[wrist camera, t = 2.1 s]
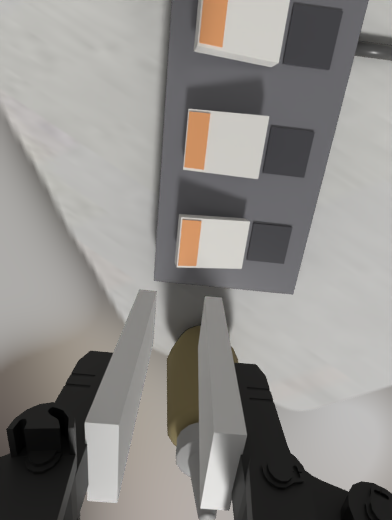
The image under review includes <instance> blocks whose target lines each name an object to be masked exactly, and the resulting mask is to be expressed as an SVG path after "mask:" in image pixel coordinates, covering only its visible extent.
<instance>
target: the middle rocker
mask: <svg viewBox="0 0 392 520" xmlns="http://www.w3.org/2000/svg"><path fill="white" fill-rule="evenodd" d="M268 122H269V116H262V115H251V114H241V113H230V112H219V111H208V110H197V109H189V110H188V121H187V132H186V143H185V154H184V165H183V170H189V171H197V172H205V173H213V174H221V175H229V176H236V177H244V178H252V179H258V177H259V171H260V166H261V160H262V155H263V149H264V144H265V138H266V133H267V127H268Z"/></svg>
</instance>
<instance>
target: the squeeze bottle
mask: <svg viewBox="0 0 392 520" xmlns="http://www.w3.org/2000/svg"><path fill="white" fill-rule="evenodd" d="M200 329H201V326H195V327H192V328H189V329H188V330H186V331H185V332H184V333H183V334H182V335H181V336H180V338H179V339H178V341H177V342H176V343H175V345H174V346H173V348H172V349H171V352H170V354H169V356H168V358H167V427H168V428H167V429H168V436H169V438H170V439H171V441H172V442H173V444H174V445H175V446H176V447H177V448H176V464H177V465H178V467H179V469H180V470H181V471H182V472H183V473H184V474H186V475H187V476H189V477H191V481H192V486H193V492H194V497H195V503H196V508H197V513H198V518H199V520H215V518H216V512H217V510H215V509H200V459H199V382H198V344H199V336H200ZM231 350H232V355H233V360H234V363H238V359H237V356H236V354H235V352H234V349H233V348H232V347H231Z"/></svg>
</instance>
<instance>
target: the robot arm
mask: <svg viewBox="0 0 392 520" xmlns="http://www.w3.org/2000/svg"><path fill="white" fill-rule="evenodd" d="M156 295H157V291H149V290H139V292H138V294H137V297H136V299H135V302H134V304H133V306H132V309H131V311H130V314H129V316H128V319H127V321H126V323H125V326H124V328H123V331H122V333H121V335H120V338H119V340H118V343H117V345H116V348H115V350H114V352H113V353H109V352H98V351H90V352H89V353H87V354H86V355H85V356H84V357H83V358H81V359H80V360H79V361H78V362H77V364H76V366H75V368H74V370H73V371H72V374H71V375H70V377H69V378H68V380H67V382H66V385H65V386H64V387H63V389H62V391H61V393H60V394H59V396H58V398H57V400H56V401H55V403H53V402H51V403H46V404H39V405H37V406H34V407H32V408H30V409H27V410H26V411H24V412H23V413H22V414H20V415H19V416H18V417H16V418H15V419H14V420H13V422H12V423H11V424H10V425H9V427H8V428H7V429H6V430H7V436H8V441H9V447H10V454H8V455H5V456H2V457H0V520H80V509H81V506H82V503H83V500H84V497H85V494H86V491H87V500H88V501H97V502H113V503H117V502H118V498H119V493H120V489H121V484H122V479H123V475H124V471H125V466H126V462H127V457H128V453H129V449H130V444H131V440H132V435H133V431H134V425H135V422H136V417H137V413H138V408H139V404H140V400H141V395H142V391H143V386H144V382H145V377H146V373H147V368H148V364H149V359H150V355H151V350H152V346H153V339H154V324H155V310H156ZM198 382H199V459H200V509H215V510H229V509H230V505H231V501H232V503H233V513H234V520H392V494H391V493H390V492H389V491H388V490H386V489H384V488H382V487H380V486H378V485H376V484H374V483H369V482H359V483H356V484H354V485H353V486H352V487H351V489H350V491H349V492H348V491H345V490H343V489H341V488H338V487H336V486H333V485H331V484H328V483H326V482H324V481H321V480H319V479H318V478H316V477H313V476H312V475H311V474H309V473H308V472H306V471H305V470H304V468H303V466H302V464H301V463H300V462H299V461H298V460H297V458H296V457H295V456H294V455H292V454H291V453H290V450H289V448H288V446H287V443H286V440H285V436H284V433H283V430H282V427H281V424H280V420H279V417H278V414H277V411H276V408H275V404H274V403H273V398H272V395H271V392H270V391H269V385H268V382H267V379H266V376H265V375H264V373H263V372H262V371H261V370H260V369H259V367H258V366H257V365H256V364H244V363H234V360H233V355H232V350H231V344H230V339H229V333H228V328H227V322H226V317H225V311H224V306H223V301H222V298H220V297H210V296H205V300H204V307H203V314H202V322H201V329H200V336H199V344H198Z"/></svg>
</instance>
